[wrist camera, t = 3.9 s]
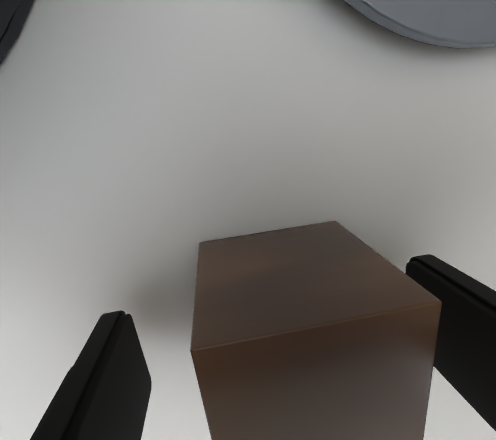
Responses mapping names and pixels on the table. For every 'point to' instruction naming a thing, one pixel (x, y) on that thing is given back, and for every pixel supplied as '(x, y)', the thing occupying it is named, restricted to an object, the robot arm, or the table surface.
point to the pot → (11, 22)
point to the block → (310, 338)
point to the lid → (435, 20)
